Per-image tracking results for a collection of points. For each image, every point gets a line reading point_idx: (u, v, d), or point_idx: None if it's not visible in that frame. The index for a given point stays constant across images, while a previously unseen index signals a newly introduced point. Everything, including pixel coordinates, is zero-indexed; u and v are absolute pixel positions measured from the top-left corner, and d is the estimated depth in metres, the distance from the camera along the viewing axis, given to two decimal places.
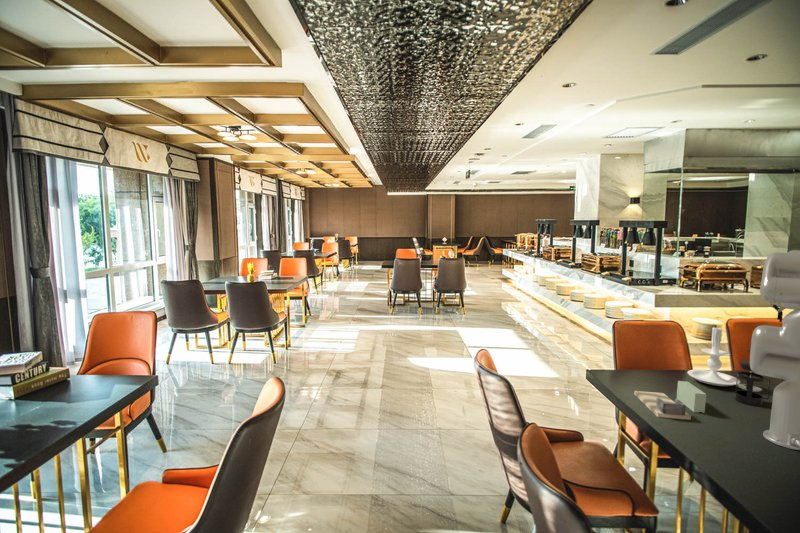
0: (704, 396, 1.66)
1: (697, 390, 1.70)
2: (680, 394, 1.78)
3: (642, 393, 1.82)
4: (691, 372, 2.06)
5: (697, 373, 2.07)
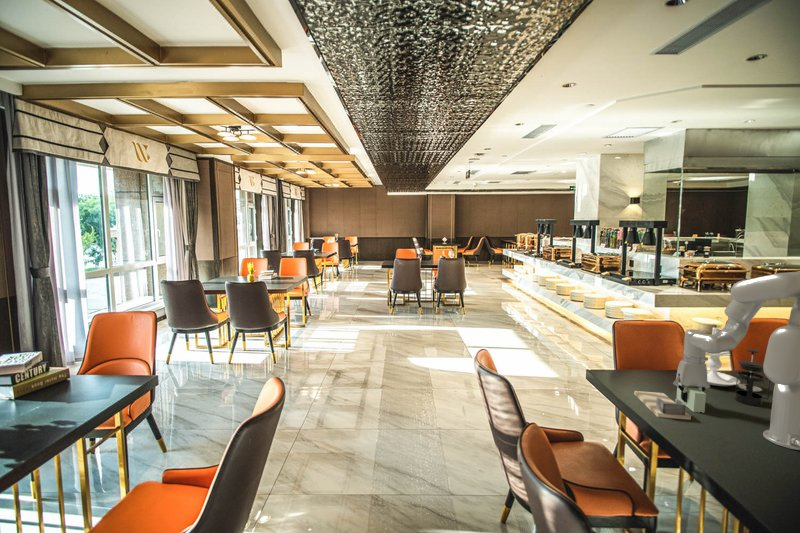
0: (704, 396, 1.66)
1: (697, 390, 1.70)
2: (680, 394, 1.78)
3: (642, 393, 1.82)
4: None
5: None
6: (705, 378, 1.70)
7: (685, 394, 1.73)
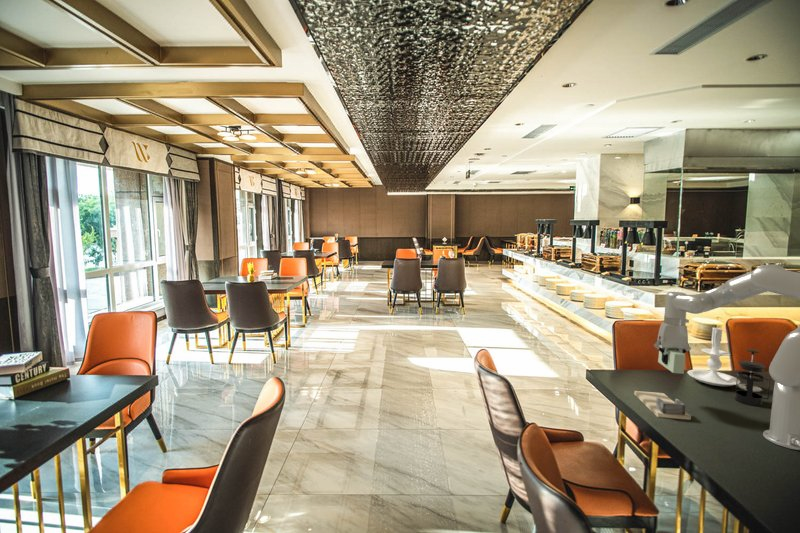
0: (683, 356, 1.66)
1: (677, 351, 1.70)
2: (661, 357, 1.78)
3: (642, 393, 1.82)
4: (691, 372, 2.06)
5: (697, 373, 2.07)
6: (685, 340, 1.70)
7: (665, 356, 1.73)
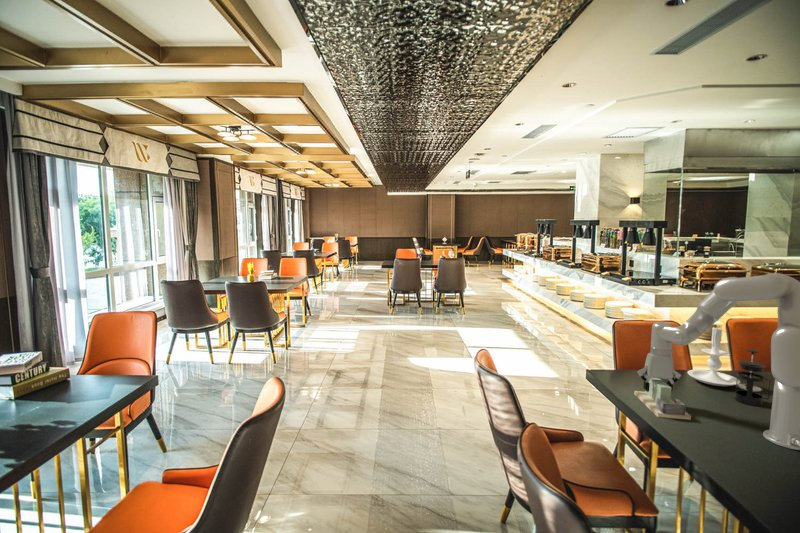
0: (669, 390, 1.68)
1: (663, 384, 1.72)
2: None
3: (642, 393, 1.82)
4: (691, 372, 2.06)
5: (697, 373, 2.07)
6: (671, 370, 1.72)
7: (647, 384, 1.75)
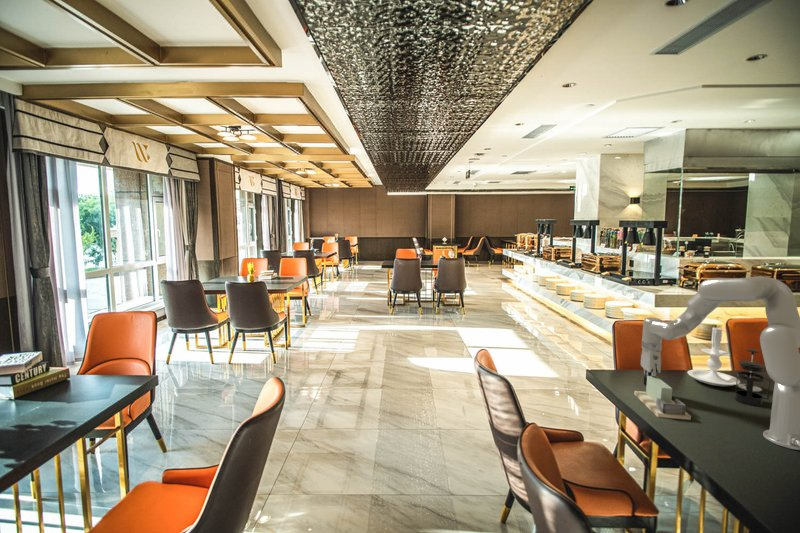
0: (670, 390, 1.67)
1: (664, 385, 1.71)
2: (649, 389, 1.79)
3: (642, 393, 1.82)
4: (691, 372, 2.06)
5: (697, 373, 2.07)
6: (648, 363, 1.80)
7: None
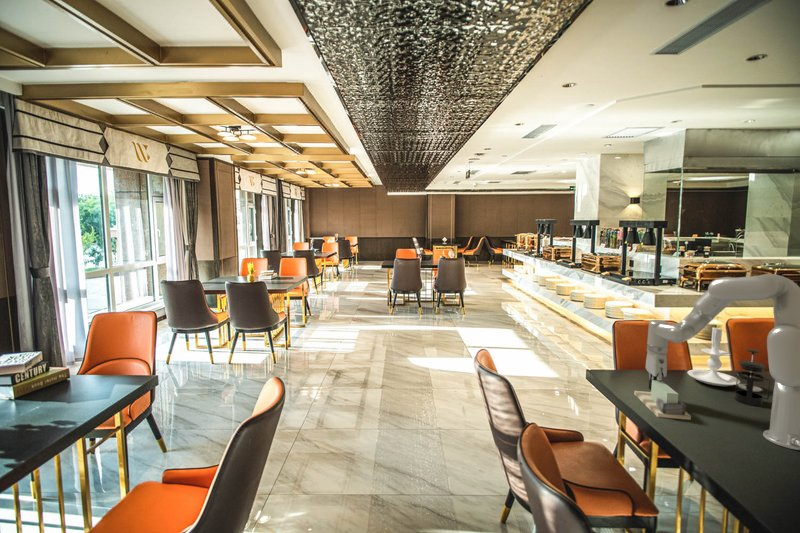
0: (676, 396, 1.62)
1: (670, 390, 1.66)
2: (654, 394, 1.74)
3: (642, 393, 1.82)
4: (691, 372, 2.06)
5: (697, 373, 2.07)
6: (654, 367, 1.75)
7: None
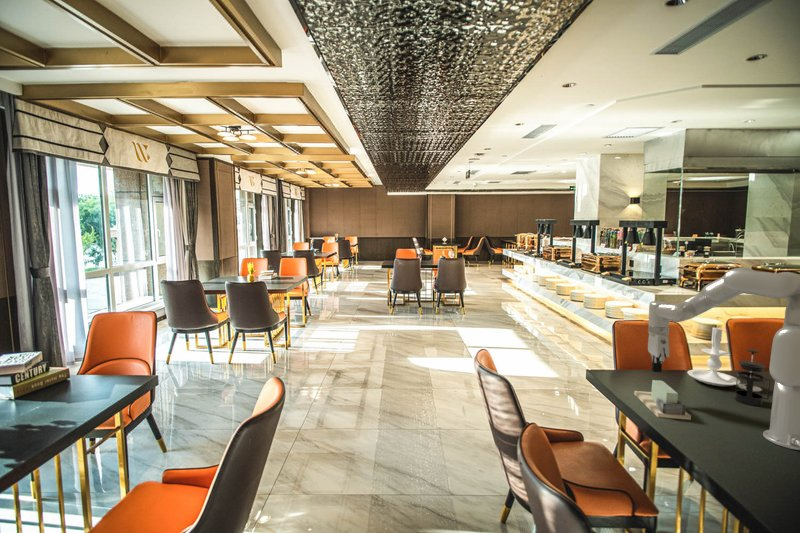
0: (676, 395, 1.62)
1: (669, 389, 1.66)
2: (654, 393, 1.74)
3: (642, 393, 1.82)
4: (691, 372, 2.06)
5: (697, 373, 2.07)
6: (656, 348, 1.74)
7: None
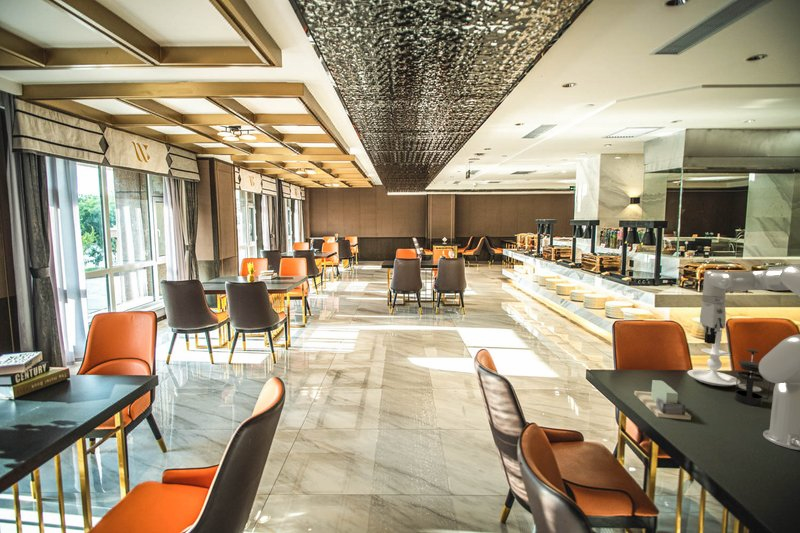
0: (676, 395, 1.62)
1: (669, 389, 1.66)
2: (654, 393, 1.74)
3: (642, 393, 1.82)
4: (691, 372, 2.06)
5: (697, 373, 2.07)
6: (711, 318, 1.67)
7: None
